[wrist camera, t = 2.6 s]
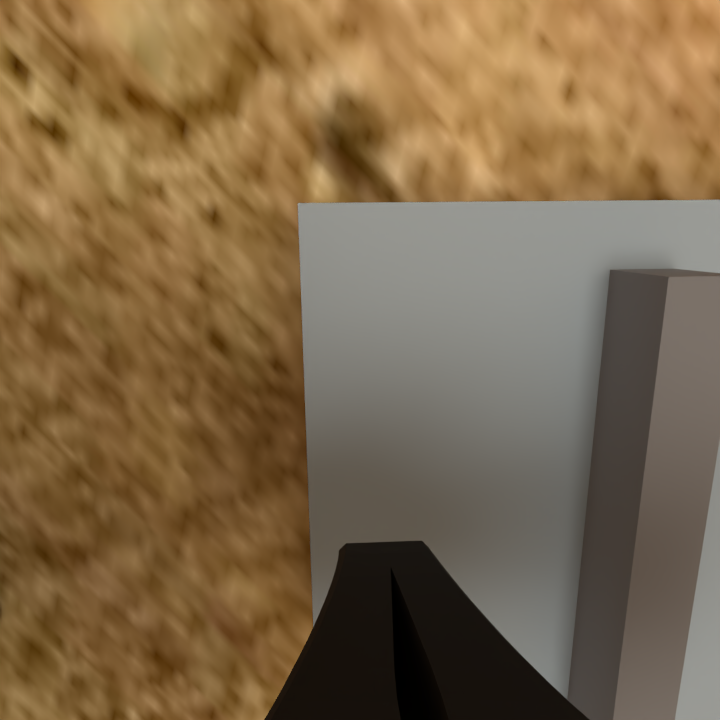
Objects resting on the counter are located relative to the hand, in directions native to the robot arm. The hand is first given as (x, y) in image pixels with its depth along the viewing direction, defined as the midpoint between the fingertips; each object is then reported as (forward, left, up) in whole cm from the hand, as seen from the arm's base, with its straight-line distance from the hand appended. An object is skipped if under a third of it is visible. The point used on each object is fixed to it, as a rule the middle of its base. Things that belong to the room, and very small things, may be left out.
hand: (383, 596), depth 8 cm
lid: (+8, 0, -3) cm, 8 cm away
